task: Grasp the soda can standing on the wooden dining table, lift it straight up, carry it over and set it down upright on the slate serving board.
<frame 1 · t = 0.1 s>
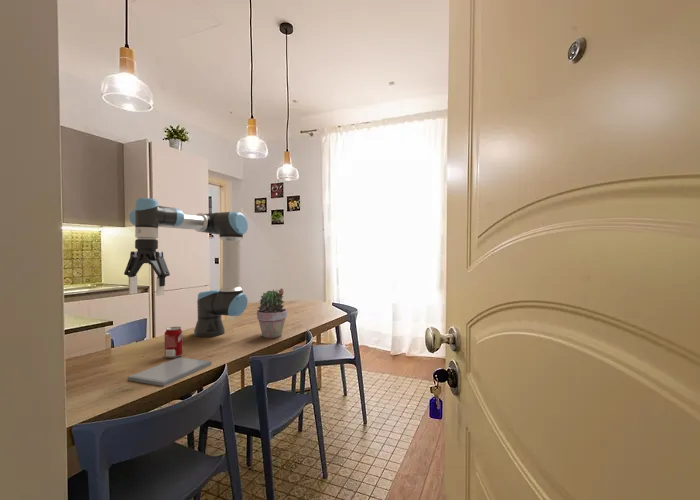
hand: (146, 294, 128), 28 cm above the table, fingers open, 13 cm apart
slate board: (172, 371, 123), on the table
soda can: (173, 356, 140), on the table
potted plant: (270, 335, 175), on the table
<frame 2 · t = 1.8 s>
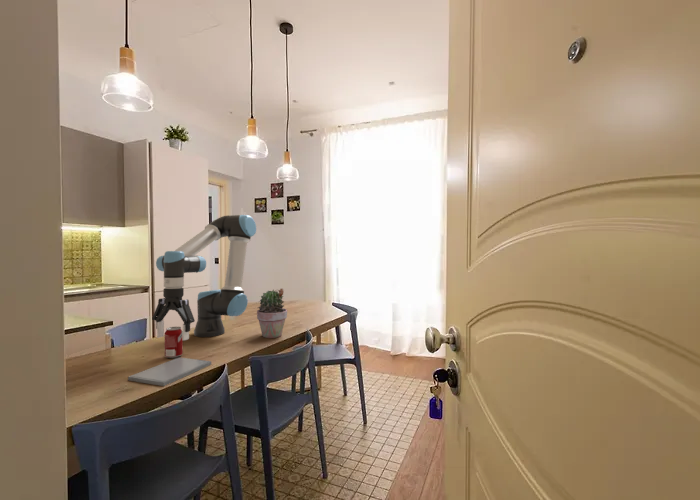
hand: (172, 338, 140), 8 cm above the table, fingers open, 13 cm apart
nothing on the table moved.
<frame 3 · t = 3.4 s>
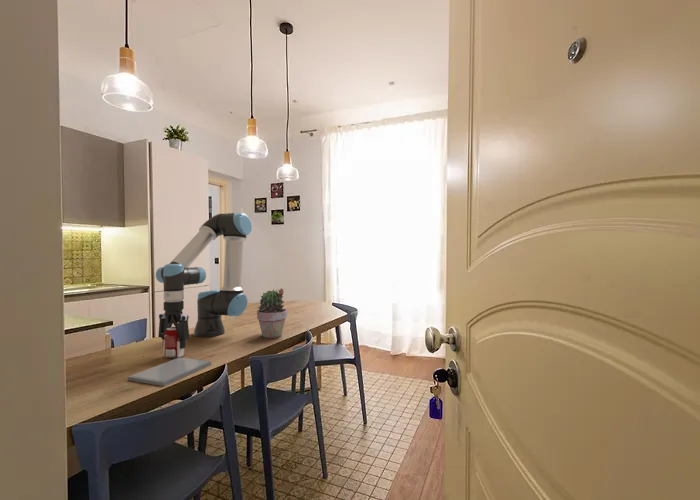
hand: (173, 355, 140), 1 cm above the table, fingers closed on soda can, 7 cm apart
soda can: (173, 356, 140), on the table, touching gripper
everything else where it was.
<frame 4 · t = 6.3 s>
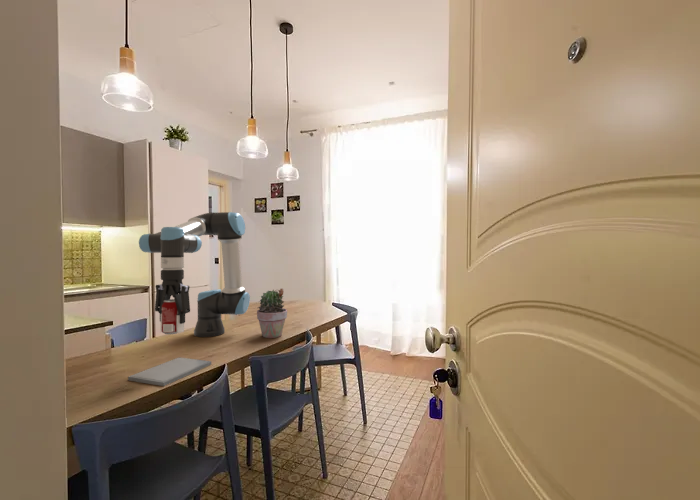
hand: (172, 331, 123), 15 cm above the table, fingers closed on soda can, 7 cm apart
soda can: (172, 333, 123), point 14 cm above the table, touching gripper
everything else where it was.
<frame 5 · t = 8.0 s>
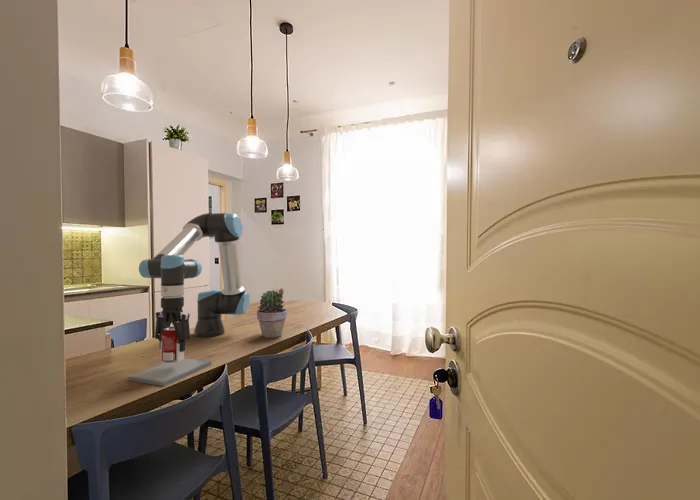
hand: (172, 359, 123), 5 cm above the table, fingers closed on soda can, 7 cm apart
soda can: (172, 361, 122), point 4 cm above the table, touching gripper
everything else where it was.
when the fingers open (2 cm above the table, at t = 9.3 s): soda can stays where it is, resting on slate board.
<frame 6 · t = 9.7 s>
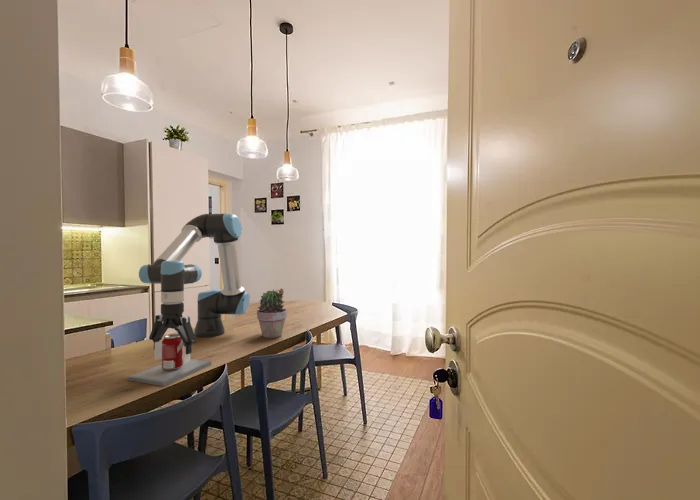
hand: (172, 360, 123), 4 cm above the table, fingers open, 12 cm apart
soda can: (172, 368, 123), point 1 cm above the table, touching slate board
everything else where it was.
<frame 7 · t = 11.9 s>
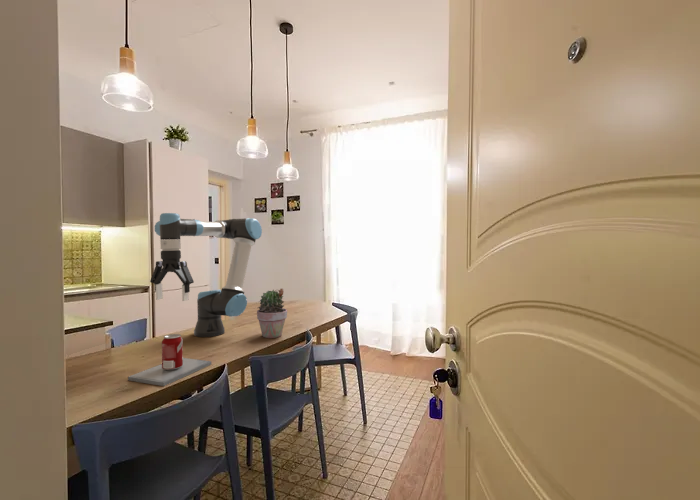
hand: (172, 299, 142), 24 cm above the table, fingers open, 13 cm apart
nothing on the table moved.
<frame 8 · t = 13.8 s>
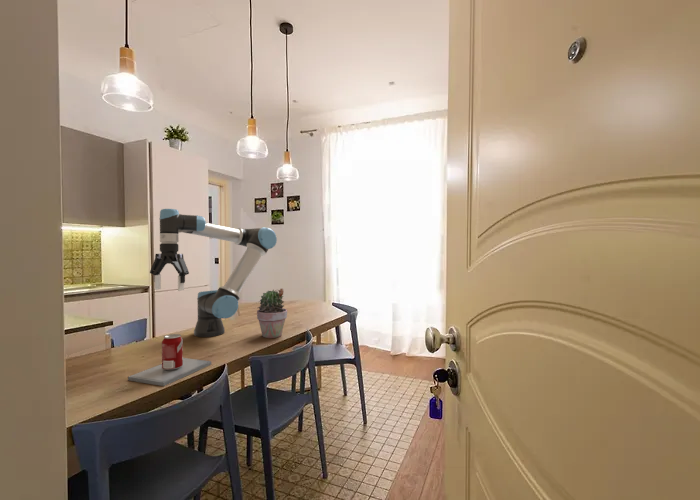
hand: (169, 289, 151), 27 cm above the table, fingers open, 13 cm apart
nothing on the table moved.
at the end: soda can inside the target area on the slate board (0.0 cm from its centre), point 1.1 cm above the slate board's base; soda can tilted 0°; the gripper is holding nothing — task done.
